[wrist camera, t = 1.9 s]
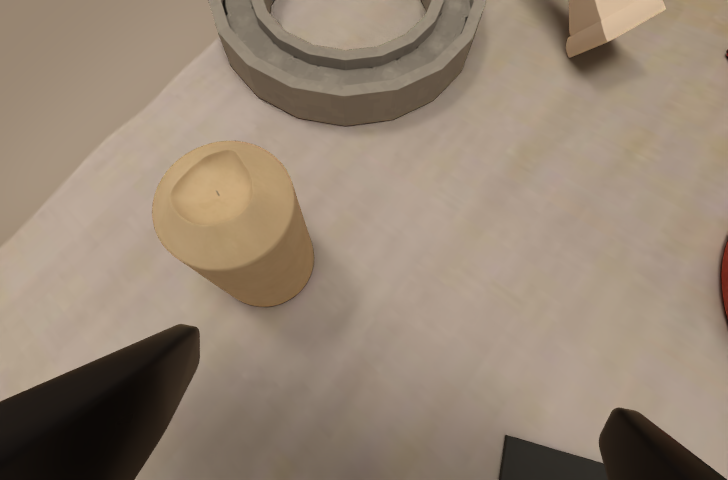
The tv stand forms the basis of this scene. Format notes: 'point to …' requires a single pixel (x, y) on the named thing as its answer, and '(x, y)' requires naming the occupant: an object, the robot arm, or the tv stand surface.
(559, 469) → the mat
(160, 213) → the candle
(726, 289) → the stacking bear
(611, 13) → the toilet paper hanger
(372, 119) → the mechanical component
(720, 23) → the tv stand surface
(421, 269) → the tv stand surface
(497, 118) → the tv stand surface
